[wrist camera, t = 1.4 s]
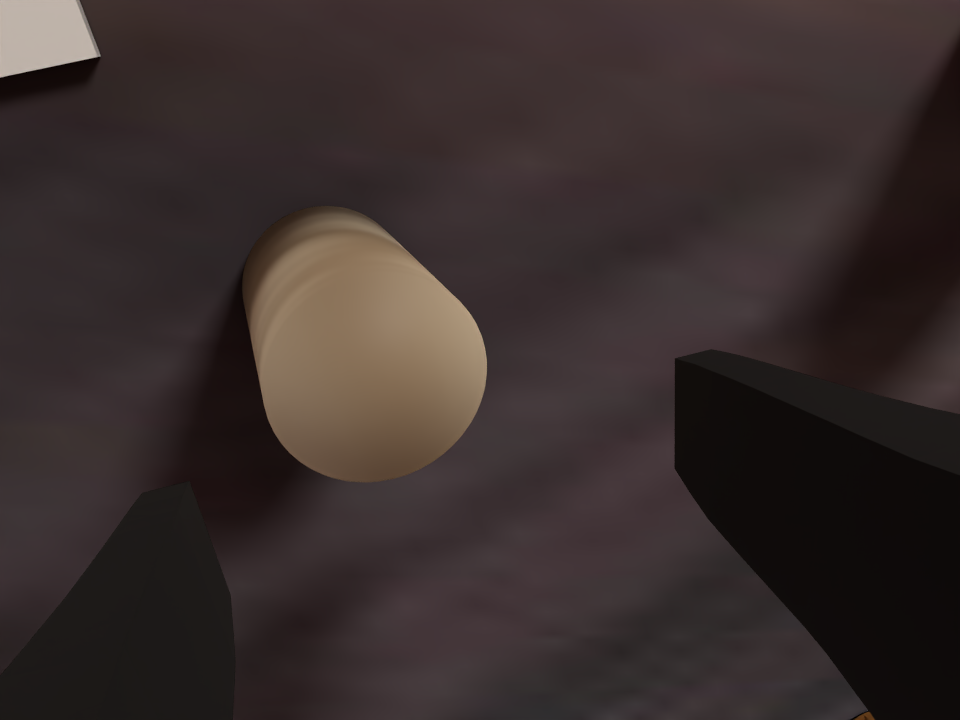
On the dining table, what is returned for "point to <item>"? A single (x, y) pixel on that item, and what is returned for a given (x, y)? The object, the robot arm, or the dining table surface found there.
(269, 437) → the dining table surface
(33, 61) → the peg holder
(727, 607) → the dining table surface
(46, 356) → the dining table surface
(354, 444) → the maple peg
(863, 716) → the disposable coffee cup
